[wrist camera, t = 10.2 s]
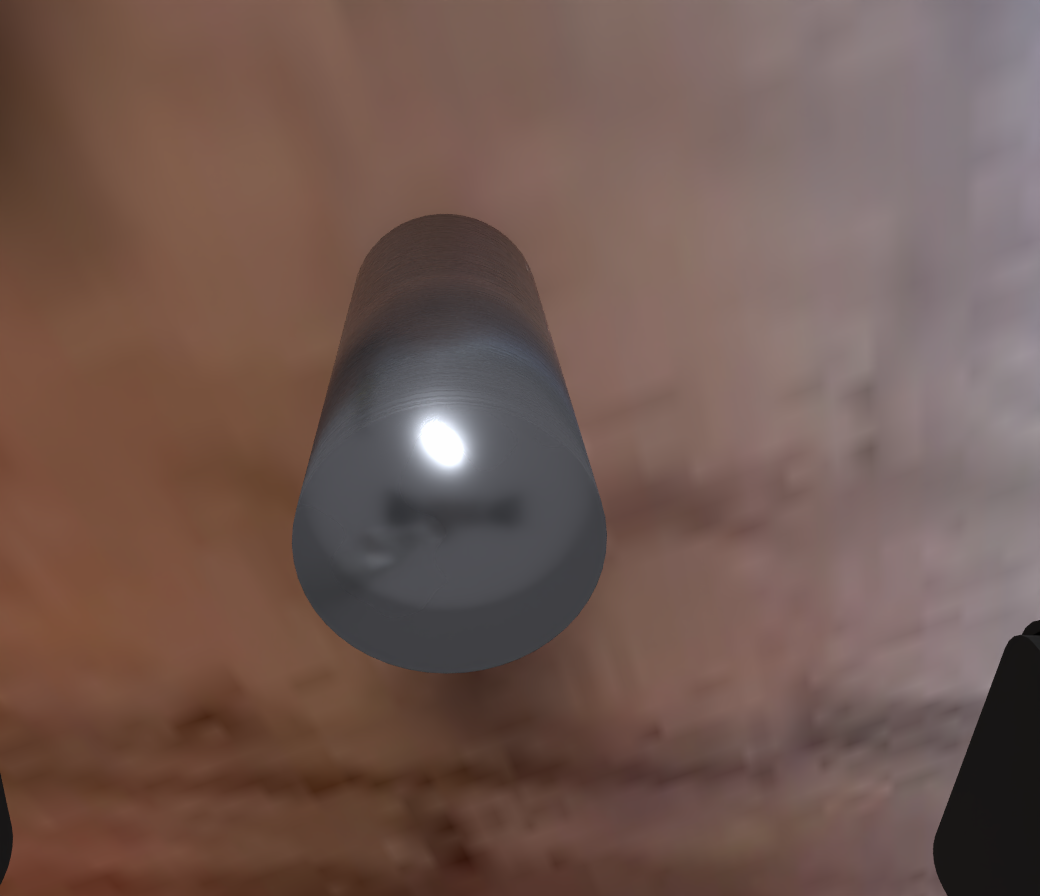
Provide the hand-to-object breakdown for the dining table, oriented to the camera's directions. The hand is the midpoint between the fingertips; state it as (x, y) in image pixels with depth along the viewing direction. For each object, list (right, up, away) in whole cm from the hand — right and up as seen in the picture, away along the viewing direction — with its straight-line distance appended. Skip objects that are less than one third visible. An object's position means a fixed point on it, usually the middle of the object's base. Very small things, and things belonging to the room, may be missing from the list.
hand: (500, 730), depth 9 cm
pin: (-1, +6, +12) cm, 14 cm away
